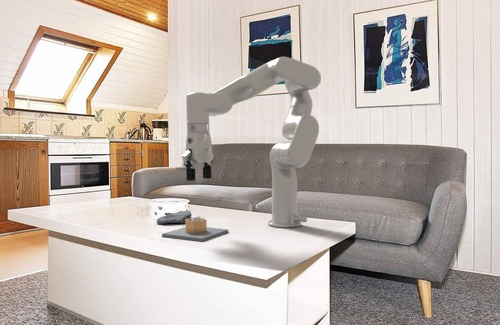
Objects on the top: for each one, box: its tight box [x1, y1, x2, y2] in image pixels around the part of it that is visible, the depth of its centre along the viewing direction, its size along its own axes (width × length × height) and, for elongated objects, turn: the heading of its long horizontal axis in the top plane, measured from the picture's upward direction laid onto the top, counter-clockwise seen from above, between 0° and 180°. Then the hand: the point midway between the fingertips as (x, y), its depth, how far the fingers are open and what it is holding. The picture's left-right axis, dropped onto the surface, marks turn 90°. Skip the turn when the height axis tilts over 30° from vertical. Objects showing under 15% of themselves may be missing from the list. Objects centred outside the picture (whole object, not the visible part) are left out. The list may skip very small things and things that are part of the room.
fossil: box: [156, 209, 193, 225], centre depth 163 cm, size 13×18×4 cm
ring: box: [184, 217, 207, 234], centre depth 136 cm, size 7×7×4 cm
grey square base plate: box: [161, 215, 229, 242], centre depth 136 cm, size 16×16×6 cm
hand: (199, 179), depth 137 cm, fingers open, 9 cm apart
